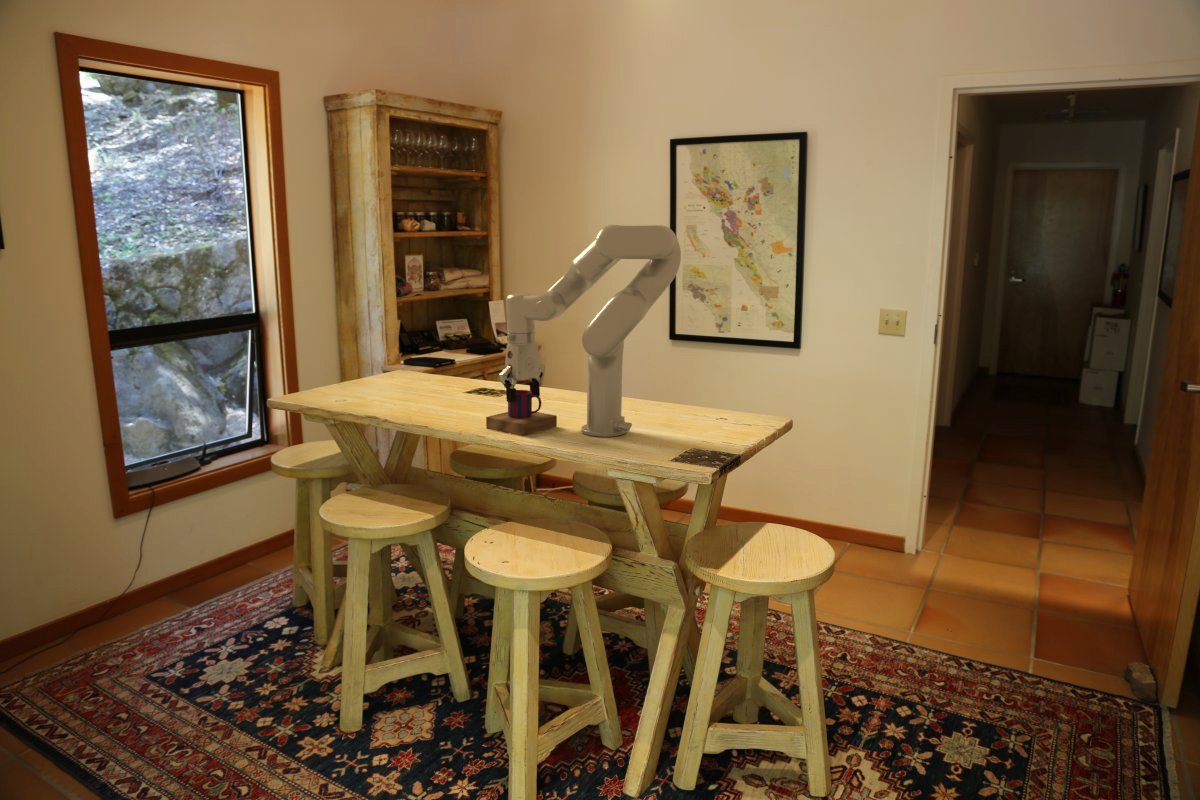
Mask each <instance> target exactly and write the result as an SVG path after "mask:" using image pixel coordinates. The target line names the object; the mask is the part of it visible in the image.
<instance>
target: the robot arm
mask: <svg viewBox="0 0 1200 800" xmlns="http://www.w3.org/2000/svg"><path fill="white" fill-rule="evenodd" d="M620 260H647V261H646V262H645V264H644V265H643V267H641V269H640V270H639V271H638V272H637V274H636V275H635V276H634V278H632V280H631V281H630V282H629V283H628V284H627V285H626V287H624V288H623V289H622V290H620V291H617V292H616V293H615V294H614V295H613V296H612V297H611V298H610V299H609V300H608V302H607V303H606V304H605V305H604V306H603V307H602V309H600V311H599V312H598V313H597V314H596V315H595V317H594V318H593V319H592V321H591V322H589V324H588V325H587V326H586V327H585V329H584V330H583V333H582V336H581V343H582V347H583V349H584V351H585V352H586V354H588V355H587V377H586V378H587V381H586V382H587V385H586V386H587V387H586V389H587V390H586V392H587V393H586V394H587V396H586V402H587V403H586V410H587V411H586V424H583V425H582V426H581V428H580V429H581V431H580V432H581V433H582V434H583V435H587V436H591V437H606V438H607V437H617V436H622V435H624V434H626V433H628V432H629V431H630V430H631V428H632V425H633V424H632V422H627V421H626V420H625V416H622V405H623V404H622V399H623V395H622V394H623V393H622V392H623V391H622V390H623V389H622V388H623V360H624V348H625V347H624V345H625V339H626V338H627V337H628V336H629V335H630V334H631V332H632V331H633V330H634V329H635V328H636V327H637V325H639V324H640V322H641V321H642V320H643V319H644V318H645V317H646V315H647V313H648V312H649V310H650V309H651V308H652V307H653V305H654V304H655V303H656V302H657V301H658V300H659V298H660V297H661V296H662V295H663V293H664V292H665V291H666V289H668V287H669V286H670V285H671V283H672V282H673V281H674V279H675V277H676V275H677V273H678V271H679V269H680V267H681V266H680V265H681V260H682V251H681V246H680V242H679V240H678V237H677V235H676V234H675V232H674V231H673V230H672V229H671V228H670V227H668V226H666V225H661V224H659V225H658V224H657V225H655V224H654V225H653V224H652V225H619V224H611V225H610V224H609V225H606V226H604V227H603V228H602V229H600V231H599V232H598V233H597V235H596V238H594V240H592V242H591V243H590V244H589V245H588V246H586V248H585V249H583V250H582V251H581V252H580V253H579V254H578V255H577V256H576V257H574V259H573V260H572V262H570V265H569V268H568V269H567V271H566V272H565V273H564V274H563V276H562V277H561V278H560V279H558V281H557V282H556V283H555V284H554V285H552V286H551V287H550V288H549V289H548V290H546V291H545V292H543V293H539V294H533V295H532V294H530V293H527V292H526V293H525V292H524V293H523V292H522V293H521V292H520V293H519V292H518V293H511V294H508V295H507V296H506V298H505V305H506V307H505V308H506V328H507V337H506V341H507V344H506V347H505V348H506V351H505V362H504V363H505V364H504V365H505V368H504V369H503V370H502V371H501V372H500V373H499V374H498V376H499V379H500V381H501V384H502V385H503V387H504V388H505V389H506V390H505V395H506V397H505V399H506V402H507V403H508V402H512V403H516V390H517V388H516V387H515V386H516V384H517V382H523V381H528V380H530V382H529V391H531V392H532V396H533V395H537V396H539V397H540V396H541V395H540V394H541V392H540V391H541V387H540V386H541V385H540V384H541V382H542V378H543V375H544V370H545V365H544V364H542V363H541V358H540V351H539V346H538V343H537V341H536V336H535V333H536V332H535V331H536V330H535V329H536V328H535V321H537V322H538V321H539V322H549V321H553V320H554V319H557V318H558V317H559V316H561V315H562V314H564V313H565V312H566V311H567V310H568V309H569V308H570V307H571V306H572V305H573V304H574V303H576V301H578V300H579V299H580V298H581V296H583V294H585V293H586V292H587V291H588V290H589V289H591V288H592V287H594V285H596V283H597V282H598V281H599V280H600V279H601V278H603V276H605V274H607V272H609V271H610V270H611V269H612V268H613V267H614V266H615V265H617V263H619V262H620Z"/></svg>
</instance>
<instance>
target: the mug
mask: <svg viewBox="0 0 1200 800" xmlns="http://www.w3.org/2000/svg"><path fill="white" fill-rule="evenodd" d="M533 398H536V399H537V400H538V407H537V409H536V410H533V407H532V406H533V402H532V401H533ZM541 408H542V398H541V397H540V396H537V395H533V396H532V392H531V391H530V390H527V389H516V403H512V402H507V412H508V416H509V417H513V418H527V417H531V416H532V414H533V413H536V412H539V411H540V409H541Z"/></svg>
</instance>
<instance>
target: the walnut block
mask: <svg viewBox="0 0 1200 800" xmlns="http://www.w3.org/2000/svg"><path fill="white" fill-rule="evenodd" d="M557 417H558V416H557V415H555V414H550V413H544V412H539V411H538V412H536V413H533V414H532V416H531V417H527V418H513V417H509V416H508V411H506V412H500V413H498V414H493V415H489V416H486V417H485V418H486V419H485V426H486V429H487V430H490V429H491V431H495V430H496V432H500V431H501V433H506V434H509V433H511V434H510V435H514V434H515V435H516V436H520V437H526V436H531V435H533V434H534V435H535V434H537V433H541V432H544V431H549V430H552V429H554V428H558V426H557V425H558V420H557V419H558V418H557Z"/></svg>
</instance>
